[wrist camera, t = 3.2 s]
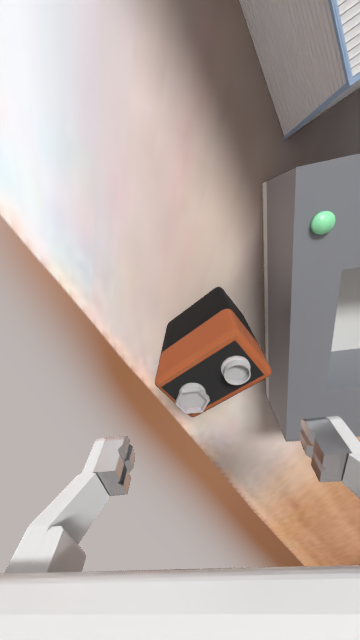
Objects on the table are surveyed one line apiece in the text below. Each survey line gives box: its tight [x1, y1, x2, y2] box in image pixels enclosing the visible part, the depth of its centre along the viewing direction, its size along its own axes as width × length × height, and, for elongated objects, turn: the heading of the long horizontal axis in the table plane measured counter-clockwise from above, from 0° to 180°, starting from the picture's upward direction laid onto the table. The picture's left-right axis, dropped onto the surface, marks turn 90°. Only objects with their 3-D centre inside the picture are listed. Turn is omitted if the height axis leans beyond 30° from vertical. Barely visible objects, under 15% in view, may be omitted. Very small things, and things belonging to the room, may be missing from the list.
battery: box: [155, 287, 271, 417], centre depth 18 cm, size 4×7×10 cm, turn 130°
